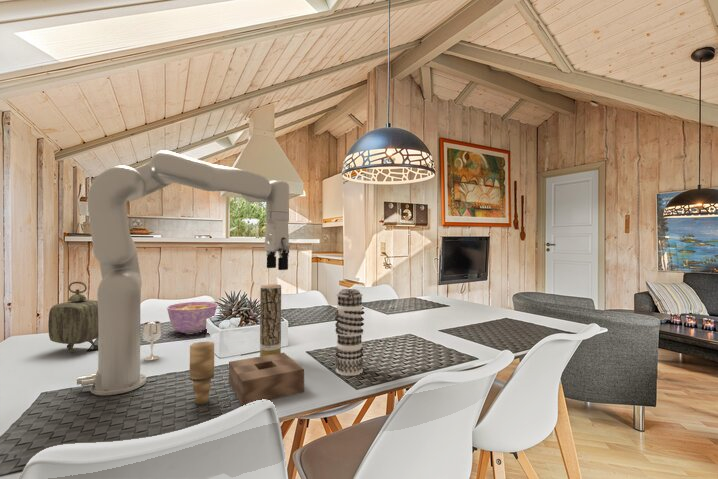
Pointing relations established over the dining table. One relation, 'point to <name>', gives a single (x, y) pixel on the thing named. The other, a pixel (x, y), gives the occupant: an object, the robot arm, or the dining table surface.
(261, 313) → the bark pattern cylinder
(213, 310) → the bowl of food
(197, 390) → the oak peg
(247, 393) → the socket block
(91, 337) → the tabletop clock
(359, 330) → the patterned tall cylinder
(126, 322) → the robot arm
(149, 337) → the wineglass
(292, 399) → the dining table surface
